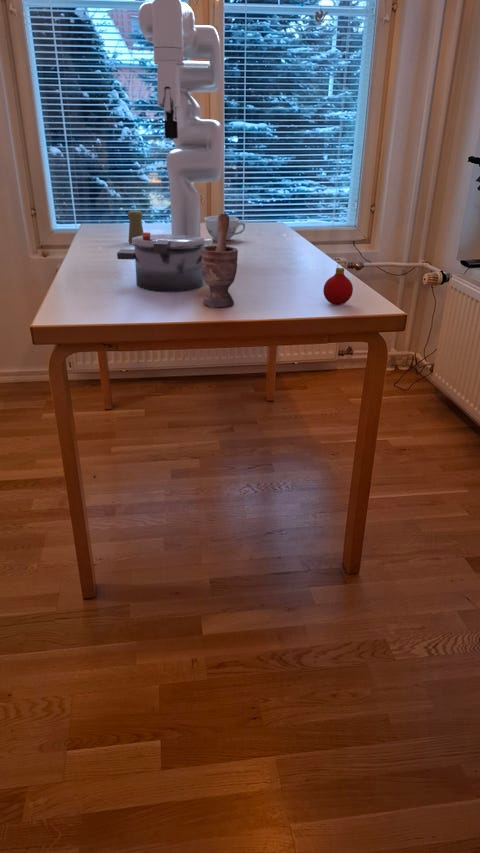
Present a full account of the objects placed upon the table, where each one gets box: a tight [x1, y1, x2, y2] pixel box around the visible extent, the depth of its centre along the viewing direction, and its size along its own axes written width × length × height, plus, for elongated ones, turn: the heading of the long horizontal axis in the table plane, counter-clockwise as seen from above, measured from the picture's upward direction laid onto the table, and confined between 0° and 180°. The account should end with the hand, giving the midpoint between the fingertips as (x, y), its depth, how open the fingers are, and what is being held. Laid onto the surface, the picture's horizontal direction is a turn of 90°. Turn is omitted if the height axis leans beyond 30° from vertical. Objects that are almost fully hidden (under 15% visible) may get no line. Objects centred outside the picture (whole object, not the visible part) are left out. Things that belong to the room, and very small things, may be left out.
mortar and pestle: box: [201, 213, 239, 309], centre depth 137 cm, size 12×9×20 cm
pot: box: [116, 245, 204, 293], centre depth 156 cm, size 20×27×10 cm
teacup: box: [204, 215, 246, 241], centre depth 215 cm, size 15×12×8 cm
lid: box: [131, 231, 206, 252], centre depth 149 cm, size 24×19×3 cm
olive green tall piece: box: [127, 209, 144, 244], centre depth 207 cm, size 6×6×11 cm
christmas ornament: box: [323, 262, 354, 306], centre depth 140 cm, size 7×7×10 cm
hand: (171, 138), depth 156 cm, fingers closed
